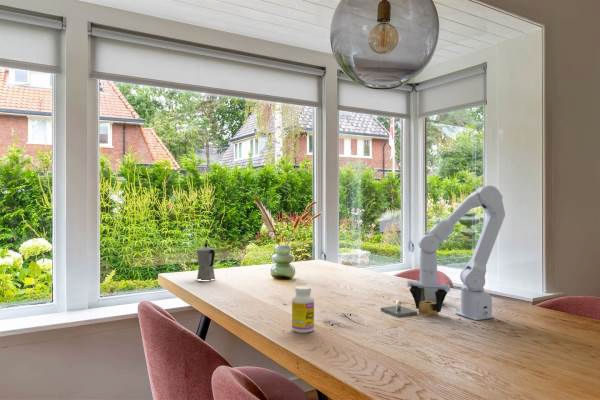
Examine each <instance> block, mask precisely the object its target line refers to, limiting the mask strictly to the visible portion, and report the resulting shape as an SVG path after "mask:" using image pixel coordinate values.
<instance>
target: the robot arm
mask: <svg viewBox="0 0 600 400" xmlns="http://www.w3.org/2000/svg"><path fill="white" fill-rule="evenodd" d="M503 197H504V196H503V195H502V193H501V192H500V190H499V189H498V188H497V186H493V185H486V186H485V185H484V186H479V187H477V188H476V189H475V190H474V191H473V192H472V193H469V195H468V196H467V197H466V198H464V199H463V200H462V202H461V203H460V204H458V206H457V207H456V208H455V209H454V210H453V212H451V214H449V216H448V217H447V218H445V217H444V218H443V217H442V218H441V219H440V220H439V219H437V220H435V222H434V223H435V224H434V225H433V226H432V227H431V228H430V229H429V230H426V231H425V235H422V236H421V237H420V238H419V241H418V247H419V249H420V251H419V254H420V255H419V280H407V287H408V288H409V292H410V295H411V296H412V297H413V300H414V303H415V304H414V305H415V309H417V310H419V302H420V301H421V291H422V288H426V289H434V290H438V291H436V292H435V295H436V311H437V312H438V313H441V311H442V307H443V303H444V301H445V299H446V296H447V295H448V293H449V292H451V284H447V283H446V284H445V283H440V282H438V256H437V250H439V245H440V244H442V243H443V242H444V241H445V240H446V239H447V238H449V236H450V235H451V234H452V233H453V232H454V231H455V225H456V224H457V223H458V222H459V221H460V220H461V219H462V218H463V217H464V216H465V215H467V213H469V212H470V211H471V210H473V209H476V208H479V207H481V208H483V211H484V213H485V214H486V216H487V217H486V219H485V222H484V225H483V227H482V229H481V232H480V235H479V237H478V240H477V243H476V246H475V248H474V251H473V253H472V256H471V258H470V259H469V261H468V262H467V264H466V266H465V267H464V268H463V269H462V271H460V274H459V278H460V280H461V283H462V285H461V287H460V290H461V291H460V309H461V310H460V311H456V312H455V315H459V316H462V317H464V318H468V319H471V320H473V321H481V320H487V319H493V318H494V315H493V310H492V309H493V301H492V300H493V299H492V296H491V294H490V293H489V292H486V291H485V288H484V287H485V285H486V274H487V264H488V261H489V258H490V256H491V253H492V251H493V249H494V246H495V243H496V240H497V238H498V235H499V232H500V231H501V227H502V225H503V222H504V219H505V217H506V212H505V208H504V203H503ZM432 287H433V288H432ZM444 298H445V299H444Z"/></svg>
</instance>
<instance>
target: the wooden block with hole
mask: <svg viewBox="0 0 600 400" xmlns="http://www.w3.org/2000/svg"><path fill="white" fill-rule="evenodd" d="M418 314H420V315H423V316H426V317H434V316H439V312H437V311H436V302H433V301H430V300H428V301H420V302H419V309H418Z"/></svg>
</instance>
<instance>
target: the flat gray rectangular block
mask: <svg viewBox="0 0 600 400" xmlns="http://www.w3.org/2000/svg"><path fill="white" fill-rule="evenodd" d="M401 301H402V300H396V305H392V306H384V307H383V306H382V307H380V312H383V313H385V314H386V313H387V314H389V315H390V316H393V317H396V318H402V317H408V316H417V315H418V311H416V310H413V309H410V308H407V307H405V306H402V304H401V303H402V302H401Z"/></svg>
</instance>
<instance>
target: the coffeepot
mask: <svg viewBox="0 0 600 400" xmlns="http://www.w3.org/2000/svg"><path fill="white" fill-rule="evenodd" d="M196 253H197V260H198V270H197V271H198V272H197V276H196V280H197V279H201V280H211V279H215V280H216V277H215V270H214V262H215V255H216V249H215V248H213V247H209V246H208V243H204V247H201V248H198V249H197V248H196Z"/></svg>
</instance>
